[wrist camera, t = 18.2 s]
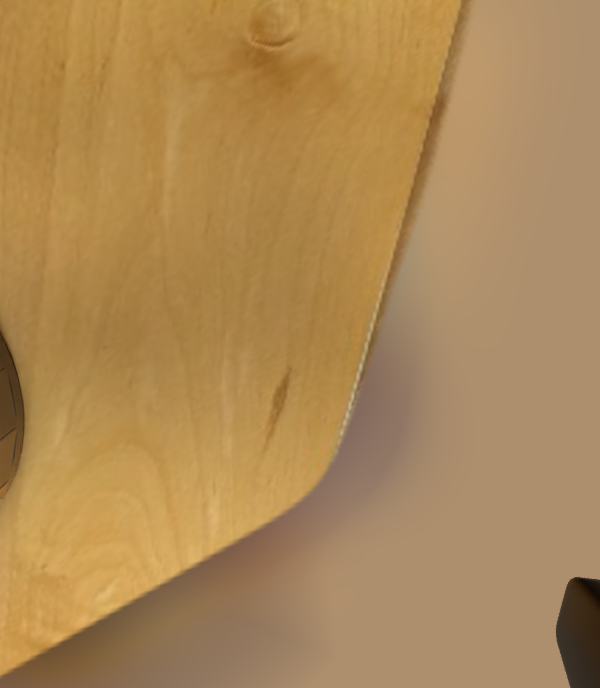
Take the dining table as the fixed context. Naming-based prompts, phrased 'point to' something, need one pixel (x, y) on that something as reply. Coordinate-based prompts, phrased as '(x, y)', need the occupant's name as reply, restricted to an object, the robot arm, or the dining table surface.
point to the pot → (9, 420)
